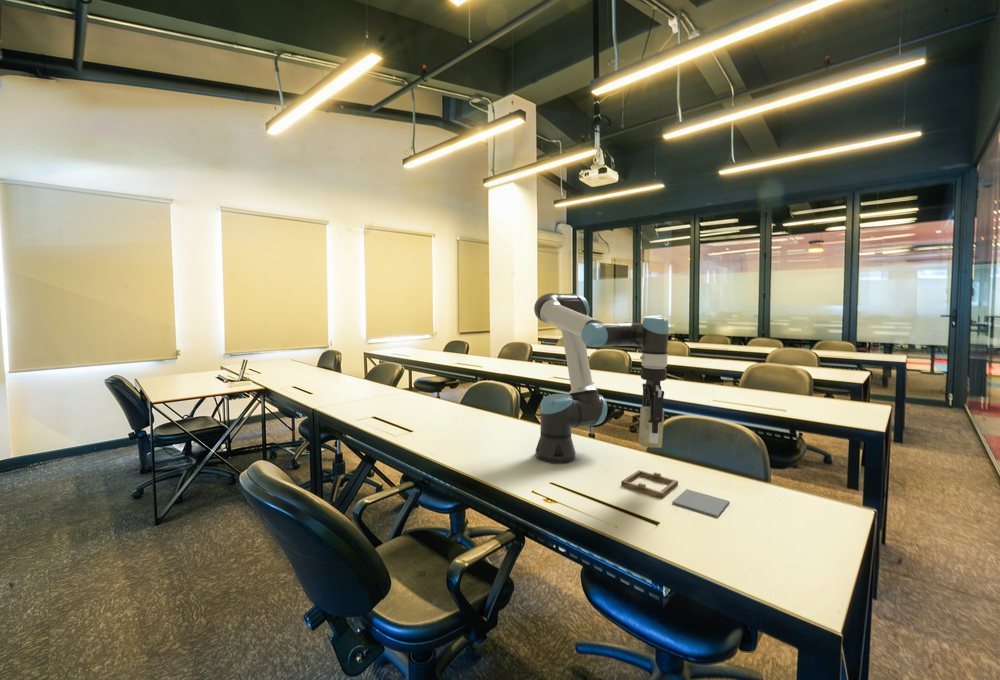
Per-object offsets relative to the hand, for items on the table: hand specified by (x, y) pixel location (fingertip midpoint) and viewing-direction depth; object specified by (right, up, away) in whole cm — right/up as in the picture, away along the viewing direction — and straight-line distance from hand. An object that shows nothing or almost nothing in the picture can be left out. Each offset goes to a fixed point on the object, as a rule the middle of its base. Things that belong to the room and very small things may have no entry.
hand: (650, 439), depth 132 cm
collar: (0, -15, +1) cm, 15 cm away
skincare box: (0, -2, 0) cm, 2 cm away
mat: (+10, -16, -11) cm, 22 cm away
